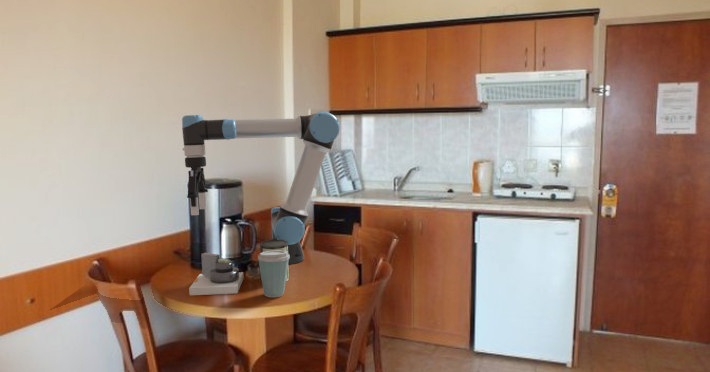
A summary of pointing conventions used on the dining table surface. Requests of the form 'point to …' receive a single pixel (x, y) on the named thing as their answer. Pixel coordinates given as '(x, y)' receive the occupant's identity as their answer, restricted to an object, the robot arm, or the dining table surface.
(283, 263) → the disposable coffee cup
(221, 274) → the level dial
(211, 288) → the instrument base
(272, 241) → the coffee can
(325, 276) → the dining table surface
